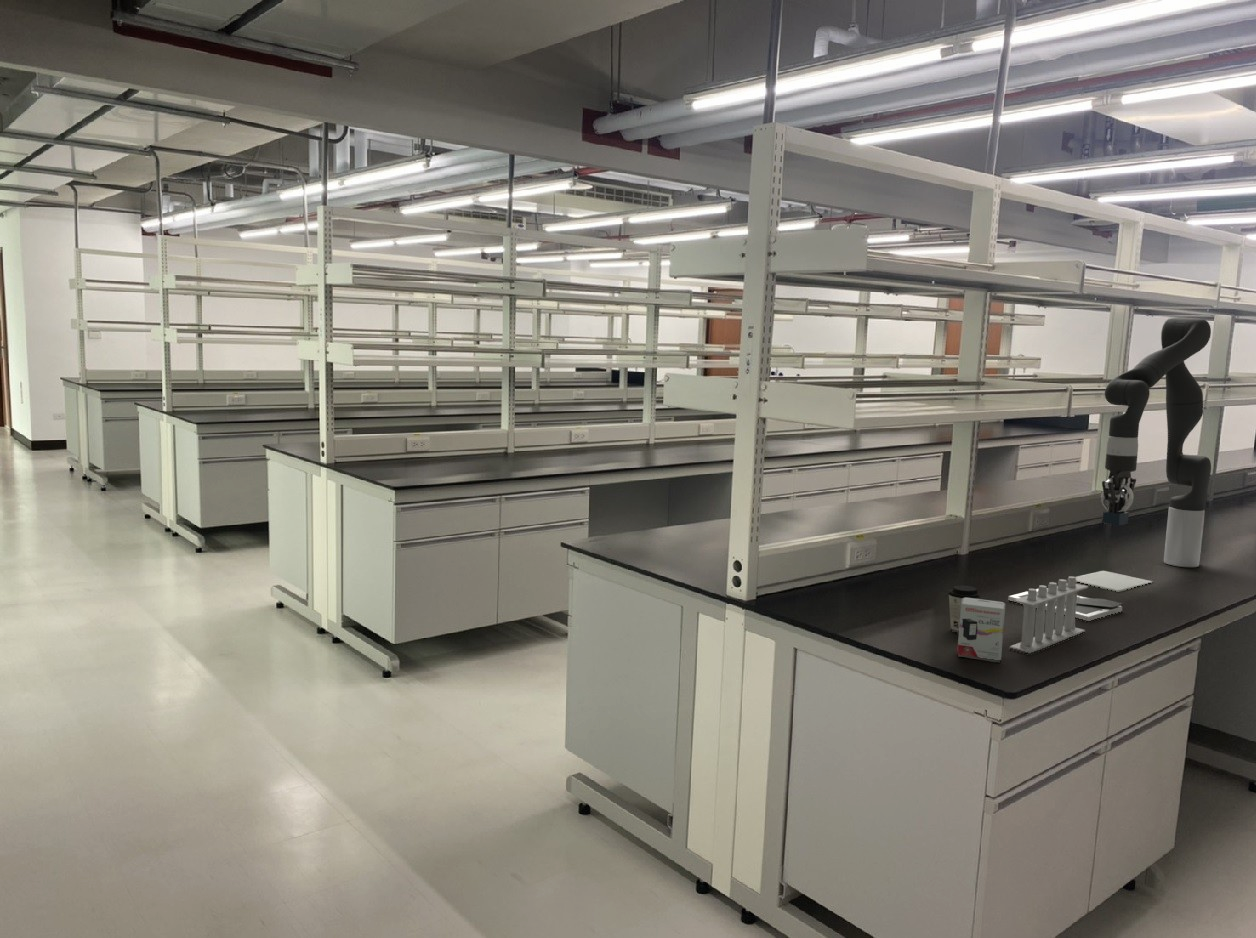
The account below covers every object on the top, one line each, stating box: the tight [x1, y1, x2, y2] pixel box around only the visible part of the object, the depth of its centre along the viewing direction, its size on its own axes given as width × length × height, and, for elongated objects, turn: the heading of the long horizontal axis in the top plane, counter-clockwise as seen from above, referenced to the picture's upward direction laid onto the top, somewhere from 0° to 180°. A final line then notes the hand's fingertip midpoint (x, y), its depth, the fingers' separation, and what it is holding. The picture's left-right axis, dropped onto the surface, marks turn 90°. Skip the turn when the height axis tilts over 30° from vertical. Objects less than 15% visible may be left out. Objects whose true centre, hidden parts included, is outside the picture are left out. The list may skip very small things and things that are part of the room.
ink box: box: [956, 598, 1006, 661], centre depth 187 cm, size 9×5×12 cm, turn 66°
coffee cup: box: [947, 584, 981, 631], centre depth 204 cm, size 7×7×10 cm
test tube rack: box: [1009, 576, 1089, 653], centre depth 198 cm, size 25×4×13 cm, turn 128°
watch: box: [1100, 485, 1135, 526], centre depth 248 cm, size 6×8×11 cm
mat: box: [1075, 570, 1154, 593], centre depth 251 cm, size 18×14×1 cm
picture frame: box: [1007, 588, 1123, 622], centre depth 226 cm, size 16×3×21 cm
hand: (1116, 514), depth 248 cm, fingers closed on watch, 3 cm apart
